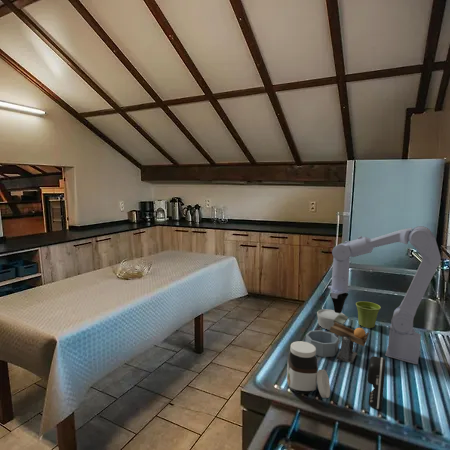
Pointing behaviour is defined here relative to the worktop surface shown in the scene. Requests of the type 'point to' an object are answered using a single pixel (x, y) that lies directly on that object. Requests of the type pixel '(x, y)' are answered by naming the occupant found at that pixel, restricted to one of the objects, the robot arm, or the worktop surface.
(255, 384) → the worktop surface
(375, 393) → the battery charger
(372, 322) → the plant pot
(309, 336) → the bowl
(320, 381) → the spread jar
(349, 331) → the lever
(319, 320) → the ramekin
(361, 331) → the ball
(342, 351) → the fulcrum
